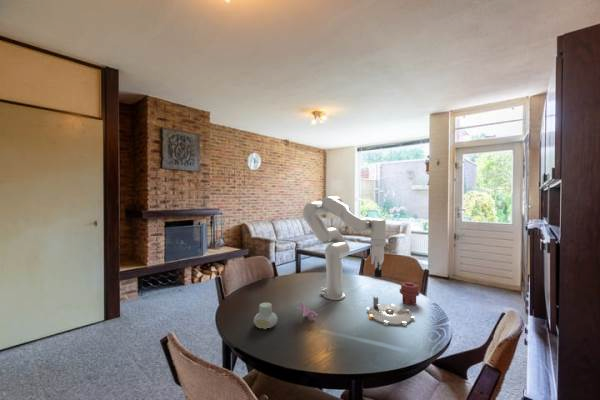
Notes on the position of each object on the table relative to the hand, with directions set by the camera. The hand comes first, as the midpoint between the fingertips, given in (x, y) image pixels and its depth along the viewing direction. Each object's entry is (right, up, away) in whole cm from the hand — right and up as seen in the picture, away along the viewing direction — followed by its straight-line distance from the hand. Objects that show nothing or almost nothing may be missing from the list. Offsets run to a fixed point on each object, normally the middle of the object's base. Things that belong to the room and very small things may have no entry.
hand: (378, 276), depth 146 cm
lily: (-38, -18, -14) cm, 44 cm away
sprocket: (+3, -16, -11) cm, 20 cm away
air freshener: (-57, -18, -19) cm, 63 cm away
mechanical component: (+18, -17, +5) cm, 26 cm away
